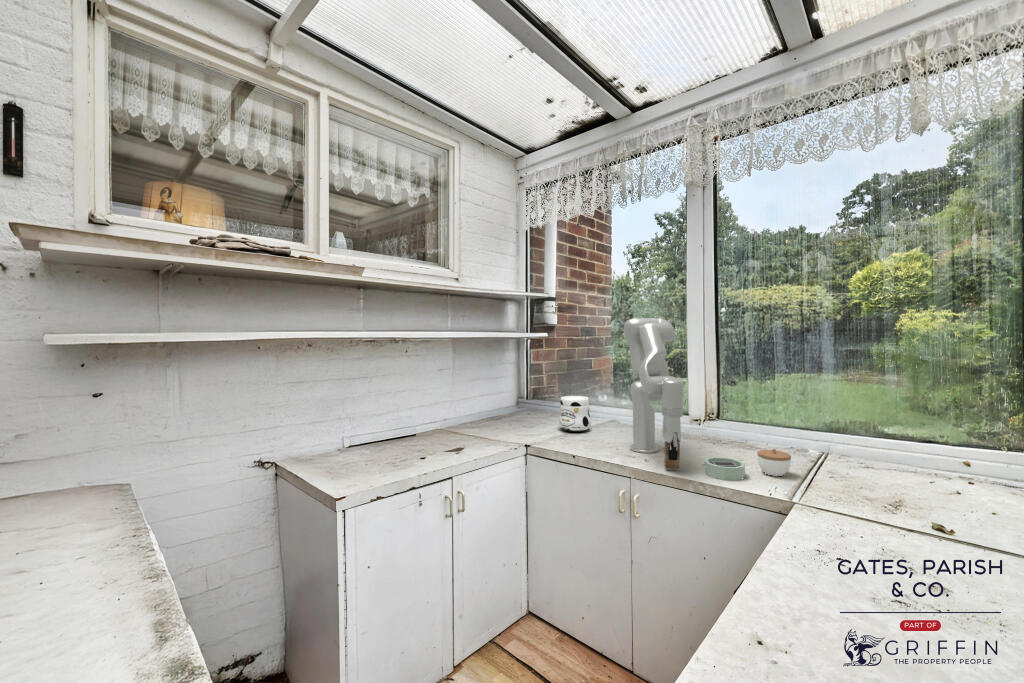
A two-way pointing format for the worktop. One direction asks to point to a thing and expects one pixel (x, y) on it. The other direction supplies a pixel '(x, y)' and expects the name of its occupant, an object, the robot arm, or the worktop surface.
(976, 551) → the worktop surface
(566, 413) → the milk container
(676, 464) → the brown wooden block
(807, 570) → the worktop surface
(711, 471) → the green round dish
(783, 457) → the lidded jar
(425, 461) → the worktop surface
